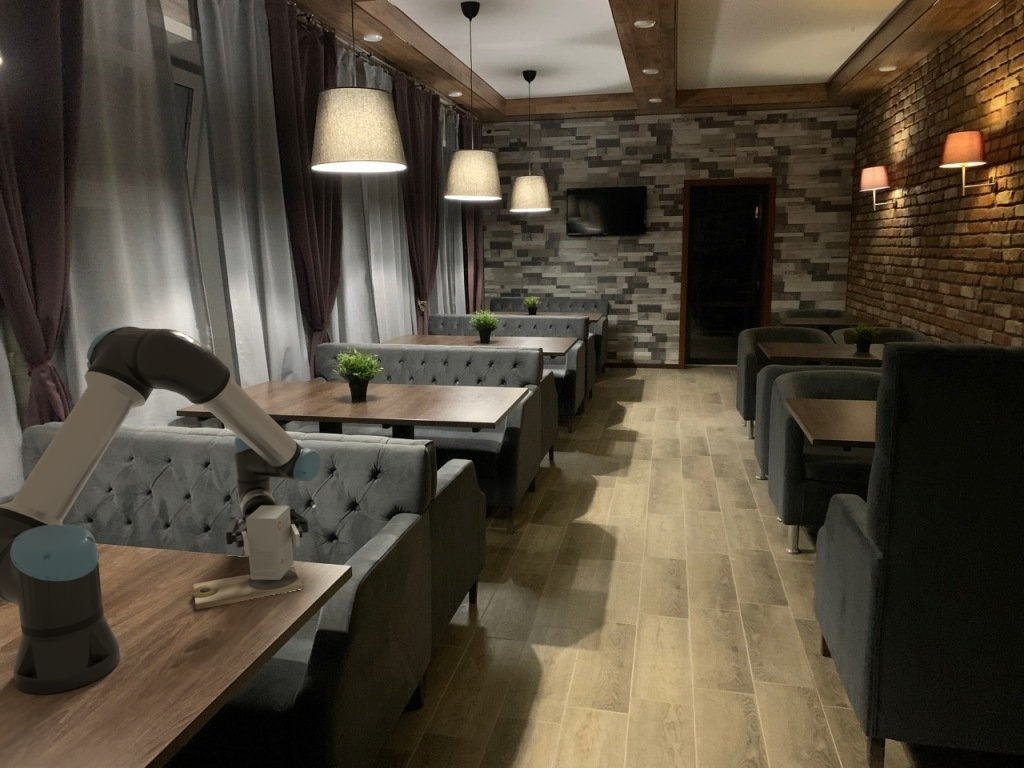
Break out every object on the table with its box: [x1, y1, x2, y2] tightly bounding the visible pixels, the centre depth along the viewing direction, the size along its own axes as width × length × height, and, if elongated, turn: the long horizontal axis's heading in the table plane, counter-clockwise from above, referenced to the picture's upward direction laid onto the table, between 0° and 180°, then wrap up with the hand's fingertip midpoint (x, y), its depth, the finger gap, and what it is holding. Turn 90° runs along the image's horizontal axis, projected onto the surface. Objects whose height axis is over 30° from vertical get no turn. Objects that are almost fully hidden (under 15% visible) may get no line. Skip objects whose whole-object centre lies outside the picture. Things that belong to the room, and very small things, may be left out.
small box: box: [246, 504, 294, 580], centre depth 155 cm, size 8×6×13 cm
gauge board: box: [191, 566, 303, 611], centre depth 155 cm, size 10×20×2 cm, turn 115°
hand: (273, 544), depth 151 cm, fingers closed on small box, 9 cm apart
